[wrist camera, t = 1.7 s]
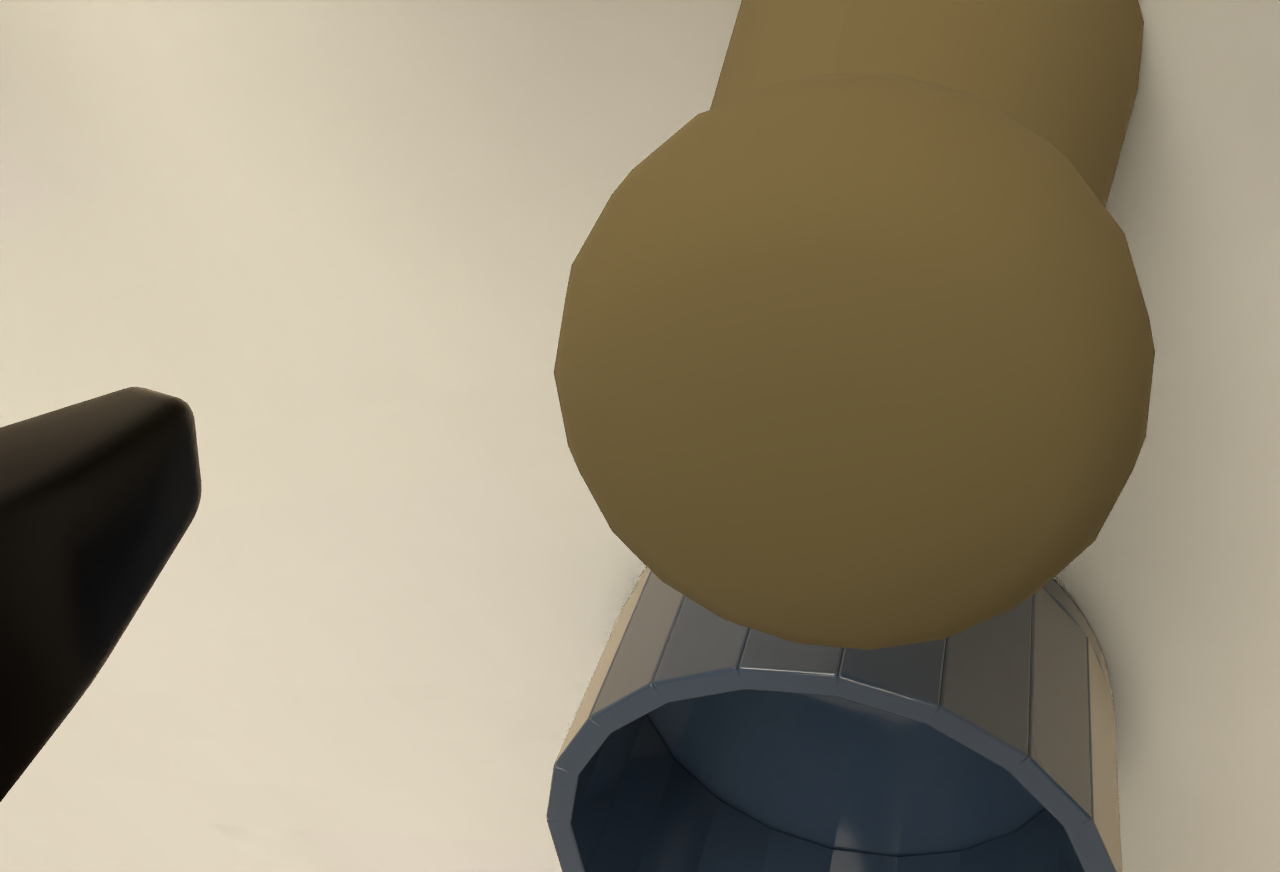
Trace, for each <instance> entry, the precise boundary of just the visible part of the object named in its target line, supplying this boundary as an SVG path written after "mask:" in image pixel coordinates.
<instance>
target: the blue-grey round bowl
mask: <svg viewBox="0 0 1280 872" xmlns="http://www.w3.org/2000/svg"><path fill="white" fill-rule="evenodd" d="M547 822H548V826H549V829H550V832H551V835H552V839H553V842H554V845H555V848H556V852H557V855H558V858H559V861H560V865H561V868H562V871H563V872H1123V871H1122V852H1121V833H1120V813H1119V794H1118V775H1117V756H1116V736H1115V717H1114V700H1113V695H1112V693H1111V689H1110V683H1109V677H1108V671H1107V666H1106V663H1105V660H1104V657H1103V654H1102V652H1101V649H1100V646H1099V643H1098V641H1097V639H1096V637H1095V635H1094V634H1093V632H1092V630H1091V628H1090V626H1089V624H1088V623H1087V621H1086V619H1085V617H1084V616H1083V614H1082V613H1081V612H1080V610H1079V609H1078V608H1077V607H1076V605H1075V604H1074V603H1073V601H1072V600H1071V599H1070V597H1069V596H1068V595H1067V594H1066V592H1065V591H1064V590H1063V589H1062V588H1061V587H1060V586H1059V585H1058V584H1057V583H1056V582H1055V581H1054V580H1053V579H1051V580H1050V581H1049V582H1048V583H1047V584H1045V585H1044V586H1043V587H1042V588H1041V589H1040V590H1039V591H1038V592H1036V593H1035V594H1034V595H1032V596H1031V597H1029V598H1028V599H1026V600H1025V601H1023V602H1022V603H1020V604H1019V605H1017V606H1016V607H1014V608H1013V609H1011V610H1009V611H1007V612H1004V613H1002V614H1000V615H997V616H995V617H993V618H991V619H988V620H986V621H984V622H982V623H979V624H977V625H975V626H973V627H970V628H968V629H966V630H963V631H961V632H959V633H957V634H954V635H952V636H950V637H948V638H945V639H941V640H935V641H928V642H921V643H914V644H908V645H901V646H894V647H887V648H881V649H874V650H863V649H853V648H842V647H831V646H820V645H810V644H799V643H793V642H790V641H787V640H784V639H781V638H778V637H775V636H772V635H769V634H766V633H763V632H760V631H757V630H754V629H751V628H748V627H745V626H742V625H739V624H736V623H733V622H730V621H727V620H724V619H722V618H721V617H719V616H717V615H716V614H714V613H712V612H711V611H709V610H708V609H706V608H704V607H703V606H701V605H699V604H698V603H696V602H695V601H693V600H691V599H690V598H688V597H686V596H685V595H683V594H681V593H680V592H678V591H677V590H675V589H673V588H672V587H670V586H668V585H667V584H665V583H663V582H662V581H661V580H660V579H659V578H658V577H657V576H656V575H655V574H654V573H653V572H652V571H651V570H650V569H649V568H648V567H646V569H645V570H644V572H643V573H642V574H641V576H640V578H639V580H638V582H637V584H636V586H635V588H634V590H633V592H632V594H631V596H630V598H629V599H628V601H627V602H626V603H625V605H624V606H623V608H622V610H621V612H620V615H619V617H618V619H617V622H616V624H615V626H614V628H613V631H612V633H611V635H610V638H609V640H608V642H607V644H606V647H605V649H604V651H603V654H602V656H601V658H600V661H599V663H598V665H597V667H596V670H595V672H594V674H593V677H592V679H591V681H590V683H589V686H588V688H587V690H586V693H585V695H584V697H583V699H582V702H581V704H580V706H579V709H578V711H577V713H576V715H575V718H574V720H573V722H572V725H571V727H570V729H569V731H568V734H567V736H566V738H565V741H564V743H563V745H562V748H561V750H560V752H559V754H558V757H557V759H556V761H555V764H554V768H553V775H552V782H551V789H550V796H549V803H548V810H547Z"/></svg>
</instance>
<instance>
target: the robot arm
mask: <svg viewBox="0 0 1280 872" xmlns="http://www.w3.org/2000/svg"><path fill="white" fill-rule="evenodd" d="M200 497H201V476H200V467H199V458H198V449H197V439H196V430H195V421H194V416H193V412H192V410H191V408H190V407H189V405H188V404H187V403H186V402H184V401H183V400H182V399H180V398H177V397H173V396H170V395H166V394H163V393H160V392H156V391H153V390H149V389H146V388H140V387H130V388H126V389H122V390H119V391H116V392H113V393H110V394H107V395H103V396H100V397H97V398H94V399H91V400H88V401H84V402H81V403H78V404H75V405H72V406H68V407H65V408H62V409H59V410H56V411H53V412H49V413H46V414H43V415H40V416H37V417H33V418H30V419H27V420H24V421H21V422H18V423H14V424H11V425H8V426H5V427H2V428H0V802H1V801H2V799H3V798H4V797H5V795H6V794H7V793H8V791H9V790H10V789H11V788H12V786H13V785H14V784H15V782H16V781H17V780H18V779H19V777H20V776H21V775H22V773H23V772H24V771H25V770H26V768H27V767H28V766H29V764H30V763H31V762H32V760H33V759H34V758H35V757H36V755H37V754H38V753H39V751H40V750H41V749H42V748H43V746H44V745H45V744H46V742H47V741H48V740H49V739H50V737H51V736H52V735H53V733H54V732H55V731H56V729H57V728H58V727H59V726H60V724H61V723H62V722H63V720H64V719H65V718H66V717H67V715H68V714H69V713H70V711H71V710H72V709H73V707H74V706H75V705H76V703H77V702H78V701H79V699H80V698H81V697H82V695H83V694H84V692H85V691H86V690H87V688H88V687H89V686H90V684H91V683H92V681H93V680H94V678H95V677H96V675H97V674H98V672H99V671H100V669H101V668H102V666H103V665H104V663H105V662H106V660H107V659H108V657H109V656H110V654H111V652H112V651H113V649H114V648H115V646H116V644H117V643H118V641H119V639H120V638H121V636H122V634H123V633H124V631H125V630H126V628H127V626H128V625H129V623H130V621H131V620H132V618H133V617H134V615H135V613H136V612H137V610H138V608H139V607H140V605H141V604H142V602H143V600H144V599H145V597H146V595H147V594H148V592H149V590H150V589H151V587H152V586H153V584H154V582H155V581H156V579H157V577H158V576H159V574H160V573H161V571H162V569H163V568H164V566H165V564H166V563H167V561H168V560H169V558H170V556H171V555H172V553H173V551H174V550H175V548H176V546H177V545H178V543H179V542H180V540H181V538H182V537H183V535H184V533H185V532H186V530H187V529H188V527H189V525H190V524H191V522H192V520H193V518H194V516H195V514H196V511H197V509H198V506H199V502H200Z"/></svg>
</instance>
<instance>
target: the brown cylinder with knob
mask: <svg viewBox="0 0 1280 872" xmlns="http://www.w3.org/2000/svg"><path fill="white" fill-rule="evenodd" d="M1143 24H1144V21H1143V18H1142V14H1141V10H1140V6H1139V2H1138V0H742V2H741V5H740V9H739V12H738V16H737V19H736V23H735V26H734V29H733V33H732V36H731V40H730V43H729V47H728V50H727V53H726V57H725V60H724V64H723V67H722V71H721V74H720V77H719V81H718V84H717V88H716V91H715V95H714V98H713V101H712V105H711V108H710V110H709V111H706V112H703V113H701V114H698V115H697V116H695V117H694V118H693V119H692V120H691V121H690V122H688V123H687V124H686V125H685V126H684V127H682V128H681V129H680V130H679V131H678V132H677V133H675V134H674V135H673V136H672V137H671V138H669V139H668V140H667V141H666V142H665V143H663V144H662V145H661V146H660V147H659V148H658V149H656V150H655V151H654V152H653V153H652V154H650V155H649V156H648V157H647V158H646V159H645V160H643V161H642V162H641V163H640V164H639V165H637V166H636V167H635V168H634V169H633V170H632V171H631V172H630V173H629V174H628V176H627V177H626V178H625V179H624V180H623V182H622V183H621V184H620V185H619V187H618V188H617V189H616V190H615V191H614V193H613V194H612V195H611V197H610V199H609V201H608V202H607V204H606V206H605V208H604V209H603V211H602V213H601V215H600V216H599V218H598V220H597V222H596V224H595V225H594V227H593V229H592V231H591V232H590V234H589V236H588V238H587V239H586V241H585V243H584V245H583V246H582V248H581V250H580V252H579V254H578V255H577V257H576V259H575V261H574V262H573V264H572V267H571V272H570V277H569V283H568V288H567V293H566V298H565V305H564V311H563V318H562V324H561V330H560V337H559V343H558V350H557V356H556V363H555V369H554V376H555V381H556V386H557V391H558V396H559V401H560V406H561V412H562V417H563V422H564V427H565V432H566V437H567V442H568V446H569V448H570V451H571V453H572V455H573V458H574V460H575V462H576V465H577V467H578V470H579V472H580V474H581V475H582V477H583V479H584V481H585V483H586V484H587V486H588V488H589V490H590V492H591V494H592V495H593V497H594V499H595V501H596V503H597V504H598V506H599V508H600V510H601V512H602V513H603V515H604V517H605V519H606V521H607V523H608V524H609V526H610V528H611V530H612V531H613V532H614V533H615V534H616V535H617V536H618V537H619V538H620V539H621V541H622V542H623V543H624V544H625V545H626V546H627V547H628V548H629V549H630V550H631V551H632V552H633V553H634V554H635V555H636V556H637V557H638V558H639V559H640V560H641V561H642V562H643V563H644V564H645V565H646V566H647V567H648V568H649V569H650V570H651V571H652V572H653V573H654V574H655V575H656V576H657V577H658V578H659V579H660V580H661V581H662V582H663V583H665V584H667V585H668V586H670V587H672V588H673V589H675V590H677V591H678V592H680V593H681V594H683V595H685V596H686V597H688V598H690V599H691V600H693V601H695V602H696V603H698V604H699V605H701V606H703V607H704V608H706V609H708V610H709V611H711V612H712V613H714V614H716V615H717V616H719V617H721V618H722V619H724V620H727V621H730V622H733V623H736V624H739V625H742V626H745V627H748V628H751V629H754V630H757V631H760V632H763V633H766V634H769V635H772V636H775V637H778V638H781V639H784V640H787V641H790V642H793V643H799V644H810V645H820V646H831V647H842V648H853V649H863V650H874V649H881V648H887V647H894V646H901V645H908V644H914V643H921V642H928V641H935V640H941V639H945V638H948V637H950V636H952V635H954V634H957V633H959V632H961V631H963V630H966V629H968V628H970V627H973V626H975V625H977V624H979V623H982V622H984V621H986V620H988V619H991V618H993V617H995V616H997V615H1000V614H1002V613H1004V612H1007V611H1009V610H1011V609H1013V608H1014V607H1016V606H1017V605H1019V604H1020V603H1022V602H1023V601H1025V600H1026V599H1028V598H1029V597H1031V596H1032V595H1034V594H1035V593H1036V592H1038V591H1039V590H1040V589H1041V588H1042V587H1043V586H1044V585H1045V584H1047V583H1048V582H1049V581H1050V580H1051V579H1052V578H1053V577H1055V576H1056V575H1057V574H1058V573H1059V572H1060V571H1061V570H1062V569H1064V568H1065V567H1066V566H1067V565H1068V564H1069V563H1070V562H1071V561H1073V560H1074V559H1075V558H1076V557H1077V556H1078V555H1079V554H1081V553H1082V552H1083V551H1084V550H1085V549H1086V548H1087V547H1088V546H1090V545H1091V544H1092V543H1093V542H1094V541H1095V540H1096V538H1097V536H1098V534H1099V532H1100V530H1101V528H1102V527H1103V525H1104V523H1105V521H1106V519H1107V517H1108V515H1109V514H1110V512H1111V510H1112V508H1113V506H1114V504H1115V502H1116V501H1117V499H1118V497H1119V495H1120V493H1121V491H1122V489H1123V487H1124V486H1125V484H1126V482H1127V480H1128V478H1129V476H1130V474H1131V473H1132V471H1133V468H1134V466H1135V463H1136V460H1137V458H1138V455H1139V453H1140V450H1141V448H1142V445H1143V442H1144V440H1145V437H1146V430H1147V420H1148V411H1149V402H1150V392H1151V383H1152V374H1153V364H1154V355H1155V350H1154V344H1153V338H1152V332H1151V326H1150V320H1149V316H1148V313H1147V309H1146V306H1145V302H1144V299H1143V295H1142V292H1141V288H1140V285H1139V281H1138V278H1137V275H1136V271H1135V268H1134V264H1133V261H1132V257H1131V254H1130V250H1129V247H1128V244H1127V240H1126V237H1125V234H1124V232H1123V231H1122V230H1121V228H1120V227H1119V226H1118V224H1117V223H1116V222H1115V220H1114V219H1113V218H1112V216H1111V215H1110V214H1109V212H1108V211H1107V210H1106V208H1105V206H1106V203H1107V199H1108V195H1109V192H1110V188H1111V184H1112V181H1113V177H1114V173H1115V170H1116V166H1117V163H1118V159H1119V155H1120V152H1121V148H1122V144H1123V141H1124V137H1125V133H1126V130H1127V126H1128V122H1129V119H1130V115H1131V112H1132V108H1133V104H1134V101H1135V97H1136V93H1137V90H1138V82H1139V70H1140V59H1141V47H1142V36H1143Z"/></svg>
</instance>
